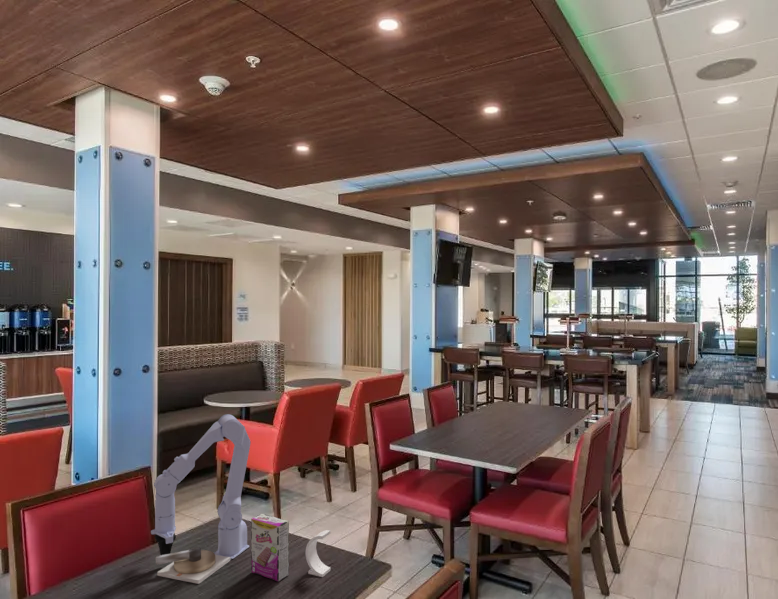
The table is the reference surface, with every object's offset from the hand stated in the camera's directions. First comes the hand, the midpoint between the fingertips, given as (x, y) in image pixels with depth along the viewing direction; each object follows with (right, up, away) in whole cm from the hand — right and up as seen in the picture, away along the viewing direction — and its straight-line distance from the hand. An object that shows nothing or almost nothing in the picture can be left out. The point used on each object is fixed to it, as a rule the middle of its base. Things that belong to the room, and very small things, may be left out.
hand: (165, 558), depth 165 cm
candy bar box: (+34, -2, -5) cm, 34 cm away
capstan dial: (+7, -1, -2) cm, 8 cm away
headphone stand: (+48, -2, -4) cm, 48 cm away
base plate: (+10, -2, -1) cm, 10 cm away
